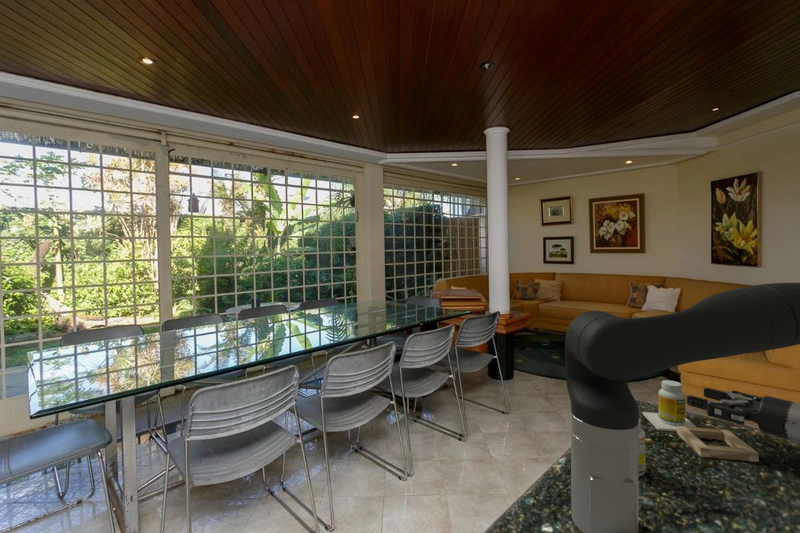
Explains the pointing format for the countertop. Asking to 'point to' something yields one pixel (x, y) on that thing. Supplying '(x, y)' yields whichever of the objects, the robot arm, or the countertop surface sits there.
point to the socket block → (734, 452)
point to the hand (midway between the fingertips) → (696, 395)
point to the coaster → (664, 426)
